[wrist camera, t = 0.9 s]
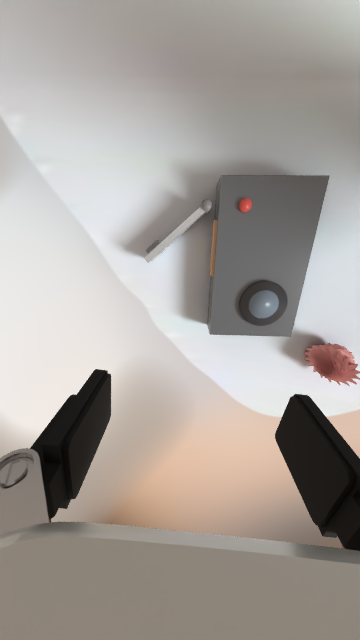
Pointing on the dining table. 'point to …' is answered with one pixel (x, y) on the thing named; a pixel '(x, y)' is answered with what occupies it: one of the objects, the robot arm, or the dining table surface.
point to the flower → (333, 362)
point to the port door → (177, 231)
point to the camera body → (261, 251)
